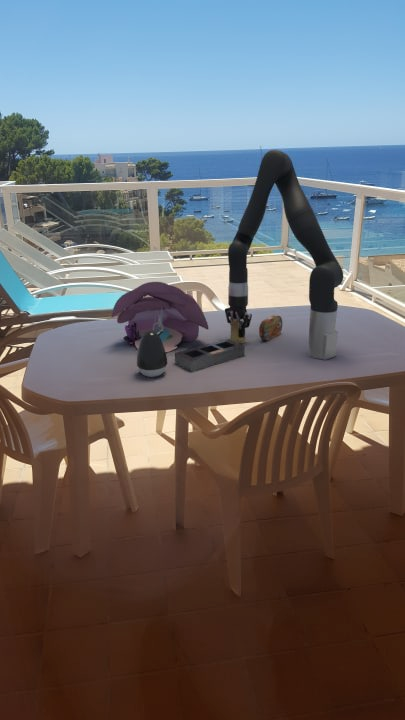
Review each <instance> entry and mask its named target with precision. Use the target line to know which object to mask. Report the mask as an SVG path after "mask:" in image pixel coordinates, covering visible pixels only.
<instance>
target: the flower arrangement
mask: <svg viewBox="0 0 405 720" xmlns="http://www.w3.org/2000/svg"><path fill="white" fill-rule="evenodd" d="M115 316H118V317H117V319H116V322H117V324H125V323H127V322H128V323H127V324H128V325H125V326H124V330H125V333H126V335H125V336H124V337H123V341H125V342H126V343H128V344H130V345H131V344H134V345H135V347H136V349H137V350H138V348H139V344H140V341H141V338H142V336H143V335H144V333H146V332H148V331H154V332H156V333H157V332H159V331H160V330H162V331H163V332H162V334H161V335H160V336H159V337H160V339H161V341H162V343H163V345H164V348H165V352H166V353H168V352H171V351H174V350H176V349H178V346H177V345H179V344H180V343H181V341H183V342H187V343H188V342H194V341H196V340H197V339H198V337H199V331H200V327H201V328H203V329H205V330H209V325H208V321H207V319H206V316H205V314H204V312H203V311H202V308H201V306H200V305H199V303H198V302H197V300H196V299H195V298H194V296H192V295H191V294H190V293H186V292H185V291H183V290H182V289H181V288H179V287H177V286H174V285H169V284H167V283H165V282H162V281H150V282H149V281H148V282H145V283H143V284H141V285H139V286H137V287H135V288H134V289H131V290H130V291H128V292H125V293H124V294H122V295H121V296H120V297H119V298H118V299H117V300H116V302H115V304H114V306H113V309H112V312H111V319H112V318H114V317H115Z"/></svg>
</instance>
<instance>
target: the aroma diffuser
mask: <svg viewBox="0 0 405 720" xmlns="http://www.w3.org/2000/svg"><path fill="white" fill-rule="evenodd" d="M162 332H163V331H162V330H160V331H159V332H157V333H156V332H154V331H148V332H146V333H144V335H143V336H142V338H141V341H140V344H139V348H138V349H137V354H136V367H137V368H138V370H139V372H140V373H141V374H142V375H143V376H146V377H149V378H155V377H159V376H161V375H162V374H164V372H165V371H166V368H167V365H168V357H167V356H168V355H167V352H165V348H164V345H163V343H162V341H161V339H160V337H159V336H160V335H161V334H162Z"/></svg>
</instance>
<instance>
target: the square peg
mask: <svg viewBox="0 0 405 720" xmlns="http://www.w3.org/2000/svg"><path fill="white" fill-rule="evenodd" d="M241 320H243V319H241ZM241 320H240V321H241ZM242 325H243V322H242ZM239 329H240V328H239V323H238V322H237V319H235V320H231V325H230V340H232V341H234V342H237V343H239V344H244V343H246V335H245V336H244V337H243V338H240V337H239Z"/></svg>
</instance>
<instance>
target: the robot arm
mask: <svg viewBox="0 0 405 720" xmlns="http://www.w3.org/2000/svg"><path fill="white" fill-rule="evenodd" d="M294 167H295V166H294V164H293V161H292V158H291V157H290V156H289V155H288V154H287V153H285V152H283V151H282V150H279V149H271V150H268V151H267V152H266V153H264V155H263V157H262V159H261V161H260V164H259V169H258V171H257V172H258V173H257V175H256V180H255V183H254V186H253V190H252V192H251V194H250V197H249V200H248V203H247V206H246V208H245V210H244V212H243V215H242V217H241V219H240V222H239V224H238V227H237V232H236V233H235V236H234V238H233V240H232V241H231V243H230V244H229V246H228V251H227V257H228V258H227V259H228V268H229V270H228V287H227V288H228V289H227V290H228V306H229V307H226V308H224V312H225V317H226V321H227V323H228V324H229V325H230V326H231V320H235V319H237V322H238V323H239V328H240V329H239V337H240V338H243V337H244V336H245V337H246V329H247V328H249V327H250V324H251V321H252V317H253V315H252V313H248V310H247V306H249V283H248V282H249V281H248V279H249V275H248V273H249V271H248V267H247V266H248V265H247V261H248V260H247V259H248V253H249V250H250V249H251V245H252V243H253V240H254V238H255V237H256V235H257V233H258V231H259V229H260V227H261V224H262V222H263V219H264V217H265V214H266V209H267V204H268V201H269V196H270V194H271V192H272V189H273V187H274V185H275V186H276V188H277V190H278V192H279V194H280V196H281V199H282V203H283V210H284V215H285V218H286V221H287V223H288V226H289V228H290V230H291V233H292V234H293V236H294V238H295V239H296V240H297V241H298V243H299V244H300V245H301V246H302V247H303V248H304V249H305V250H306V251H307V252H308V254H309V255H310V257H311V259H312V261H313V263H314V264H315V267H314V268H313V269H312V270H311V272H310V275H309V282H308V300H309V303H310V310H309V327H308V343H307V344H308V345H307V355H308V356H309V357H310V358H313V359H318V360H319V359H320V360H324V361H325V360H328V359H331V358H334V357H336V356H337V348H338V347H337V346H338V333H339V332H338V331H337V329H336V328H337V318H338V308H339V307H338V304H339V303H338V300H335V288H337V287H339V286H340V285H341V284H342V283H343V280H344V271H343V269H342V266H341V264H340V263H339V262H338V259H337V258H336V257H335V255H334V253H333V251H332V250H331V249H332V248H330V245H329V243H328V241H327V239H326V236H325V235H324V232H323V230H322V228H321V226H320V224H319V220H318V219H317V216H316V214H315V211H314V210H313V207H312V206H311V204H310V202H309V200H308V198H307V196H306V194H305V192H304V191H303V189H302V186H301V185H300V181H299V179H298V176H297V173H296V171H295V168H294ZM241 319H242V320H241ZM240 320H241V321H240ZM242 322H243V325H242Z"/></svg>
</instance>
